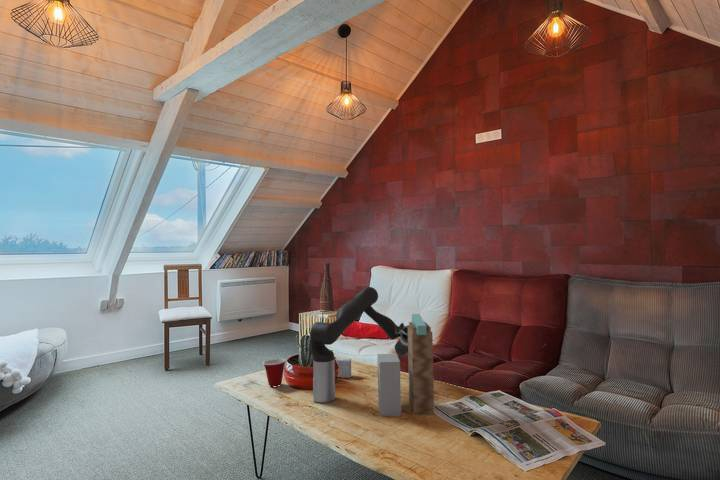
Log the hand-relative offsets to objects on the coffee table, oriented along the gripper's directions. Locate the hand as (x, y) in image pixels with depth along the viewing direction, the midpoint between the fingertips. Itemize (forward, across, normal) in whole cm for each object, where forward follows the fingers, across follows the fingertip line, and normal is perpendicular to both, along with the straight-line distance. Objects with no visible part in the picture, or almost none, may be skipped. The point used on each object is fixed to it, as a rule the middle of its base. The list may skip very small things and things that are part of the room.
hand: (412, 324), depth 188 cm
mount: (+1, 0, +36) cm, 36 cm away
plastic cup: (-29, -65, +19) cm, 73 cm away
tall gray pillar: (+1, -13, +36) cm, 38 cm away
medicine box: (-38, -32, +14) cm, 51 cm away
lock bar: (+14, 0, +6) cm, 15 cm away
